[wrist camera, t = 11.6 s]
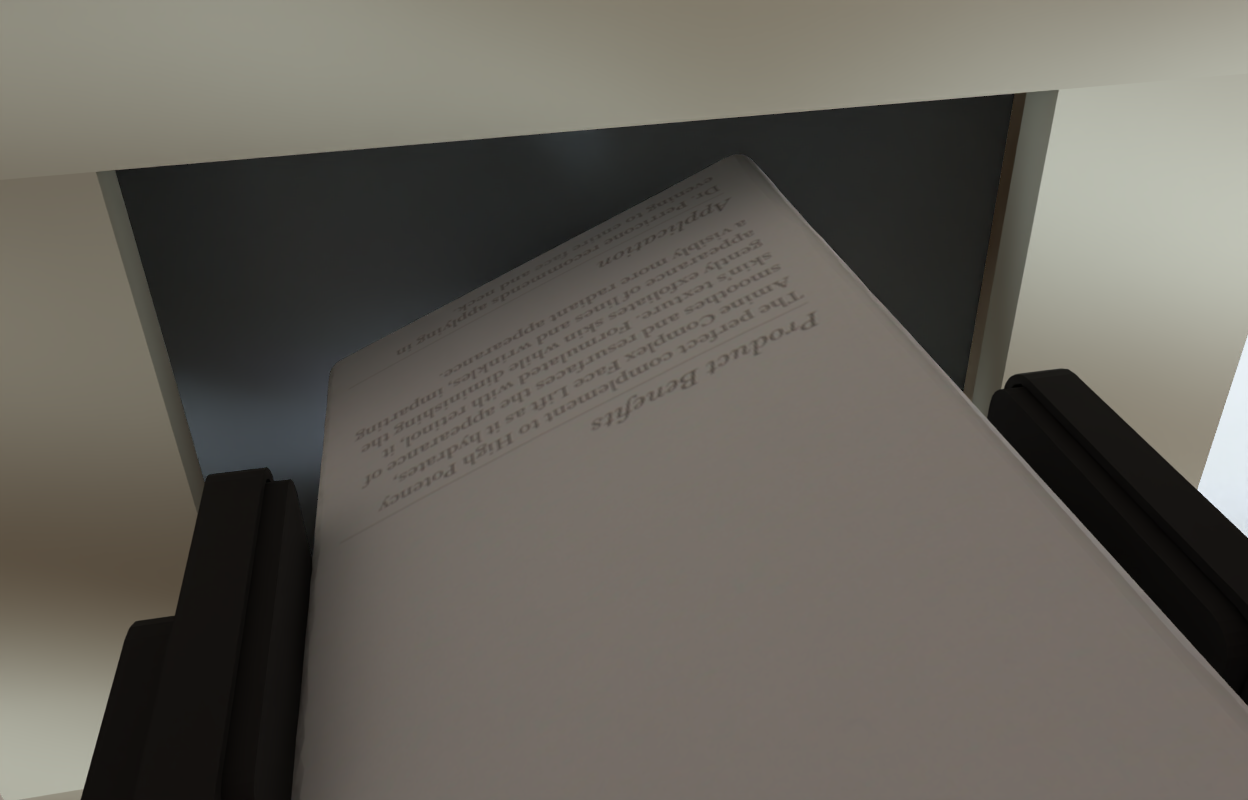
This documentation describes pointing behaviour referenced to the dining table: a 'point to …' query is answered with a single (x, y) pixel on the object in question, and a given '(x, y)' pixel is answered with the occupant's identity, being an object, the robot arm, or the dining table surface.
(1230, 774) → the skincare box
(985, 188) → the dining table surface
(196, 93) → the wooden frame
